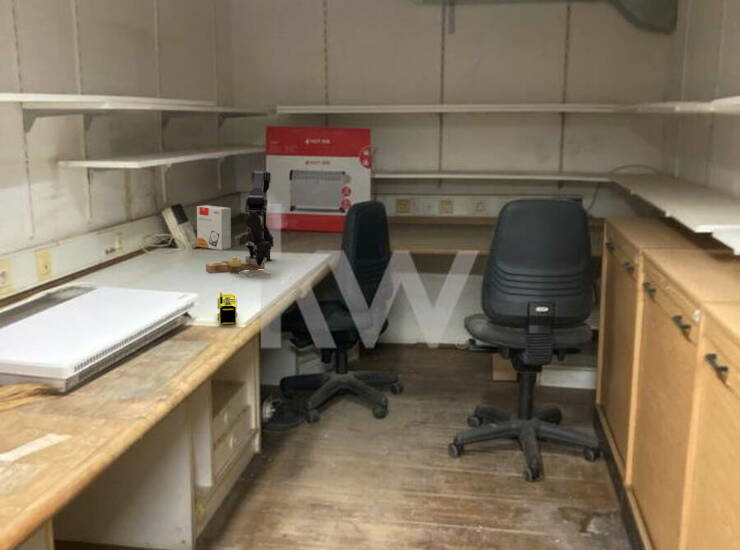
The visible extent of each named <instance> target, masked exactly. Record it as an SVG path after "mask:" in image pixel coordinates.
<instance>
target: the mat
mask: <svg viewBox="0 0 740 550" xmlns="http://www.w3.org/2000/svg"><path fill="white" fill-rule="evenodd" d="M241 272H242V273H241ZM240 273H241V274H243V273H244V274H243V275H244V276H246V275H247V276H246V277H251V276H250V275H258V276H268V275H269V276H270V275H272V272H270V271H268V270H266V269H264V270H249V271H240Z"/></svg>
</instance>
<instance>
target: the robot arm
mask: <svg viewBox="0 0 740 550" xmlns="http://www.w3.org/2000/svg"><path fill="white" fill-rule="evenodd" d="M250 182H251V183H252V188H251V190H249V191H248V194H247V196H246V197H245V207H244V208H245V209H244V211H245V213H248V216H247V217H246V220H245V221H246V222H245V223H246V226H247V228H246V231H245V232H241V233H239V234H238V235H237V234H236V235H235V236H234V237H233V238H234V240H235V243H236V245H238V246H244V247H245V248H246V249H247V250H248V253H249V256H254V255H256V258H257V264H258V266H260V265H261V263H262V261H263V259H264V257H266V258H267V262H269V261H270V262H271V261H272V259H271V250H272V248H274V236H273V235H272V233H271V228H270V227H269V225H268V223H267V222H268V221H267V219H268V218H267V217H268V216H267V209H268V199H267V192H268V190H269V189H270V186H271V183H272V174H271V172H268V171H266V170H264V169H255V170H253V171H251V172H250Z"/></svg>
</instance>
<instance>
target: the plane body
mask: <svg viewBox="0 0 740 550" xmlns="http://www.w3.org/2000/svg"><path fill="white" fill-rule="evenodd" d="M258 269H264V270H265V263H261V265H260V266H258V264H250V263H248V262H246V260H241V266H237V267H232V266H230V265H229V263H228V260H221V262H212V263H211V262H210V263H209V262H208V263H205V271H206V272H207V273H209V274H218V273H221V272H222V273H229V274H240V273H241V271H244V270H258ZM239 272H240V273H239ZM222 273H221V274H222Z"/></svg>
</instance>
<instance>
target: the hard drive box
mask: <svg viewBox="0 0 740 550" xmlns="http://www.w3.org/2000/svg"><path fill="white" fill-rule="evenodd" d="M231 214H232V210H231V207H226V206H224V207H223V206H216V205H209V204H207V205H206V204H205V205H198V206H196V247H199V248H200V247H201V248H205V249H213V250H218V251H219V250H220V251H223V250H227V249H232V248H231V247H232V245H231V244H232V241H231V240H232V237H231V236H232V234H231V233H232V231H231V230H232V229H231V228H232V225H231V224H232V223H231V221H232V220H231V218H232V215H231Z"/></svg>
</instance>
